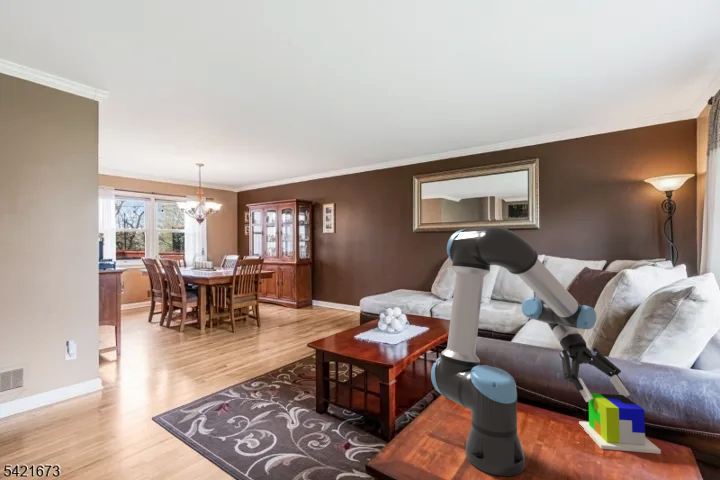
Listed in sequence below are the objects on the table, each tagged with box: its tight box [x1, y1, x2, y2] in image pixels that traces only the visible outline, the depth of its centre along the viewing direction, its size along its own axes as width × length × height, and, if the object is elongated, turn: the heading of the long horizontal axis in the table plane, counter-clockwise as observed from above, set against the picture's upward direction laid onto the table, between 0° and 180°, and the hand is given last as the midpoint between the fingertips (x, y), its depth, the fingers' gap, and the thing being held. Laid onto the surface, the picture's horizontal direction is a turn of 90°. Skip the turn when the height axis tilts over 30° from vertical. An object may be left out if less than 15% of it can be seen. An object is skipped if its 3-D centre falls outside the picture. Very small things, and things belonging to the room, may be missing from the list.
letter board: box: [578, 420, 662, 455], centre depth 104 cm, size 15×14×1 cm
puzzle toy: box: [588, 392, 646, 445], centre depth 104 cm, size 10×10×10 cm
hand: (608, 398), depth 107 cm, fingers open, 13 cm apart
